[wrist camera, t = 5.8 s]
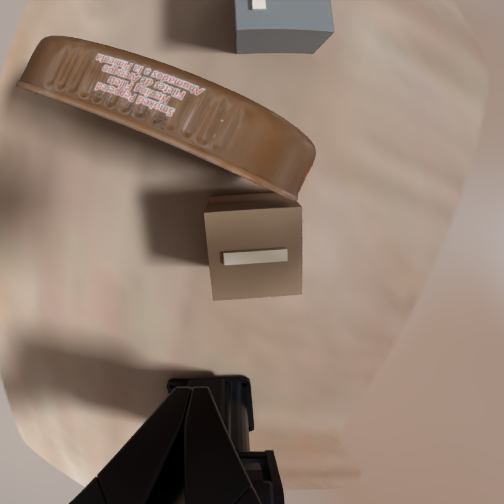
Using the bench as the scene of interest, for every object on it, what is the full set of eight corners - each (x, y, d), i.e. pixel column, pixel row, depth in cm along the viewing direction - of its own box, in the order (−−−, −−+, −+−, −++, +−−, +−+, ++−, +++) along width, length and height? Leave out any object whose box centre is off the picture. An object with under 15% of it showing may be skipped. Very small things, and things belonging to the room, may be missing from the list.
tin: (65, 100, 16) (-21, 90, 8) (85, 55, 15) (7, 22, 7) (279, 192, 19) (310, 231, 11) (303, 145, 18) (352, 150, 10)
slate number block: (313, 54, 16) (335, 30, 12) (236, 54, 16) (236, 28, 12) (306, -7, 15) (325, -41, 10) (233, -8, 14) (233, -45, 10)
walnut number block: (288, 262, 20) (302, 295, 16) (217, 266, 20) (213, 302, 16) (286, 191, 19) (302, 207, 15) (211, 196, 19) (203, 213, 14)
